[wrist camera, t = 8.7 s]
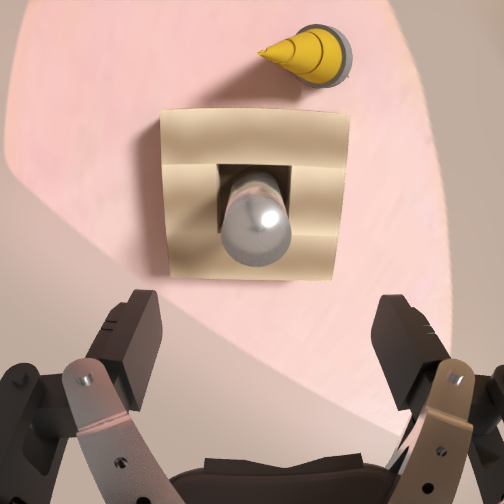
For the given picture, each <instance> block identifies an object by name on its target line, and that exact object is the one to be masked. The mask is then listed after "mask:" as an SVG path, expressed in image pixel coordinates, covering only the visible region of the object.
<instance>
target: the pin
mask: <svg viewBox="0 0 504 504" xmlns="http://www.w3.org/2000/svg"><path fill="white" fill-rule="evenodd" d="M291 237H292V232H291V226H290V223H289V219H288V216H287V213H286V209H285V206H284V203H283V199H282V196H281V193H280V189H279V186H278V183H277V180H276V178H275V177H274V176H273V174H272V173H270V172H269V171H268V170H266V169H263V168H260V167H251V168H247V169H245V170H243V171H241V172H240V173H239V174H238V175H237V176H236V177H235V179H234V181H233V183H232V188H231V192H230V196H229V200H228V204H227V208H226V213H225V217H224V221H223V225H222V230H221V239H222V244H223V246H224V248H225V250H226V252H227V253H228V255H229V256H230V257H231V258H233V259H234V260H235V261H237V262H238V263H240V264H243V265H246V266H250V267H262V266H267V265H270V264H272V263H274V262H276V261H277V260H279V259H280V258H281V257H282V256H283V255H284V254H285V253H286V251H287V250H288V248H289V246H290V243H291Z"/></svg>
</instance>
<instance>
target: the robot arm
mask: <svg viewBox="0 0 504 504" xmlns="http://www.w3.org/2000/svg"><path fill="white" fill-rule="evenodd" d="M161 340H162V321H161V315H160V310H159V303H158V296H157V293H156V291H155V290H134V291H133V293H132V295H131V296H130V298H129V300H128V302H127V303H122V302H121V303H119V304H118V305H117V306H116V307H114V308H113V309H112V310H111V311H110V313H109V314H108V316H107V318H106V320H105V322H104V324H103V325H102V327H101V330H99V332H98V334H97V336H96V338H95V340H94V341H93V343H92V345H91V347H90V349H89V351H88V353H87V355H86V357H85V358H82V359H78V360H76V361H74V362H72V363H70V364H69V365H68V366H67V367H66V368H65V370H64V371H63V373H62V374H52V375H40V374H39V372H38V370H37V369H36V367H35V366H33V365H32V364H29V363H19V364H16V365H14V366H12V367H11V368H9V369H8V370H7V371H6V372H5V374H4V375H3V377H2V379H1V380H0V504H50V500H51V497H52V492H53V489H54V485H55V482H56V478H57V474H58V471H59V467H60V464H61V461H62V457H63V454H64V451H65V447H66V444H67V441H68V438H70V437H77V438H78V441H79V444H80V446H81V449H82V452H83V454H84V457H85V459H86V461H87V464H88V466H89V468H90V471H91V473H92V475H93V477H94V480H95V482H96V484H97V486H98V488H99V490H100V492H101V494H102V497H103V499H104V501H105V503H106V504H452V503H453V500H454V497H455V494H456V491H457V488H458V485H459V482H460V478H461V475H462V472H463V468H464V464H465V461H466V457H467V454H468V456H469V459H470V462H471V465H472V468H473V471H474V474H475V477H476V480H477V484H478V487H479V490H480V493H481V497H482V500H483V504H504V442H503V439H502V437H501V435H500V432H499V430H498V428H497V424H498V423H499V422H500V421H501V419H502V420H503V422H504V365H500V366H498V367H497V368H496V369H495V371H494V372H493V374H492V376H484V375H475V374H474V372H473V370H472V369H471V367H469V366H468V365H467V364H466V363H464V362H463V361H460V360H457V359H451V357H450V356H449V354H448V352H447V351H446V349H445V347H444V346H443V344H442V343H441V341H440V339H439V338H438V336H437V335H436V334H435V331H434V330H433V328H432V327H431V326H430V324H429V322H428V321H427V319H426V317H425V316H424V315H423V314H422V313H421V312H419V311H418V310H417V309H416V308H414V307H411V306H410V305H409V303H408V302H407V300H406V299H405V297H404V296H403V295H401V294H399V295H382V296H381V298H380V301H379V304H378V308H377V312H376V315H375V319H374V322H373V325H372V329H371V341H372V345H373V348H374V350H375V352H376V355H377V357H378V360H379V362H380V365H381V367H382V370H383V372H384V375H385V377H386V380H387V382H388V385H389V388H390V390H391V393H392V396H393V398H394V401H395V404H396V406H397V409H398V411H401V410H407V409H410V410H411V413H412V414H411V416H410V417H409V419H408V421H407V424H406V426H405V428H404V431H403V433H402V435H401V438H400V440H399V442H398V444H397V446H396V448H395V451H394V453H393V455H392V457H391V459H390V460H389V462H388V464H387V465H386V467H385V468H384V467H381V466H377V465H373V464H368V463H363V460H362V456H361V453H358V454H350V455H341V456H332V457H324V458H321V459H318V460H314V461H311V462H307V463H304V464H301V465H297V466H293V467H289V468H280V467H275V466H270V465H264V464H260V463H256V462H251V461H247V460H231V459H211V458H205V462H204V468H198V469H194V470H190V471H186V472H183V473H181V474H178V475H176V476H174V477H172V478H171V479H169V480H168V478H167V477H166V475H165V474H164V472H163V470H162V469H161V467H160V466H159V464H158V463H157V461H156V460H155V458H154V456H153V455H152V453H151V451H150V450H149V448H148V446H147V445H146V443H145V442H144V440H143V438H142V436H141V434H140V433H139V431H138V429H137V428H136V426H135V424H134V422H133V420H132V418H131V417H130V415H129V413H128V412H129V410H133V411H140V409H141V406H142V403H143V399H144V396H145V392H146V389H147V386H148V382H149V379H150V376H151V373H152V369H153V366H154V363H155V359H156V357H157V353H158V350H159V347H160V344H161Z"/></svg>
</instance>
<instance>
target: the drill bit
mask: <svg viewBox="0 0 504 504" xmlns="http://www.w3.org/2000/svg"><path fill="white" fill-rule="evenodd" d="M258 55H260V56H262V57H264V58H266V59H268V60H270V61H272V62H274V63H276V64H278V65H279V66H281V67H283V68H285V69H287V70H289V71H291V72H292V73H294V74H295V75H296V76H297V78H298V79H299V80H300V81H301V82H303V83H304V84H306V85H308V86H310V87H313V88H330V87H334V86H336V85H338V84H340V83H341V82H342V81H344V79H345V78H346V77H349V76H348V74H349V72H350V70H351V66H352V59H353V56H352V50H351V46H350V44H349V42H348V40H347V39H346V37H345V36H344V35H343V34H342V33H341V32H340V31H339V30H337V29H335V28H333V27H330V26H326V25H320V24H313V25H309V26H306V27H304V28H302V29H301V30H300V31H299V32H298V33H297V34H296V35H295V36H293V37H290V38H288V39H286V40H283V41H281V42H279V43H277V44H275V45H272V46H270V47H268V48H266V51H264V50H262V51H260V52H258Z"/></svg>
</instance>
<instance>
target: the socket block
mask: <svg viewBox="0 0 504 504" xmlns="http://www.w3.org/2000/svg"><path fill="white" fill-rule="evenodd" d="M349 128H350V115H347V114H340V113H331V112H320V111H308V110H293V109H274V108H187V109H170V110H160V137H161V164H162V183H163V199H164V213H165V226H166V237H167V248H168V258H169V268H170V277H171V278H199V279H237V280H299V281H332V276H333V270H334V263H335V257H336V250H337V243H338V235H339V228H340V220H341V212H342V203H343V195H344V185H345V175H346V165H347V154H348V142H349ZM251 167H260V168H263V169H266V170H268V171H269V172H270V173H272V174H273V176H274V177H275V178H276V180H277V183H278V186H279V189H280V193H281V196H282V199H283V203H284V206H285V209H286V213H287V216H288V219H289V223H290V226H291V232H292V237H291V243H290V246H289V248H288V250H287V251H286V253H285V254H284V255H283V256H282V257H281V258H280V259H279V260H277V261H276V262H274V263H272V264H270V265H267V266H262V267H250V266H246V265H243V264H240V263H238V262H237V261H235V260H234V259H233V258H231V257H230V256H229V255H228V253H227V252H226V250H225V248H224V246H223V244H222V239H221V230H222V225H223V221H224V217H225V213H226V208H227V204H228V200H229V196H230V192H231V188H232V183H233V181H234V179H235V177H236V176H237V175H238V174H239V173H240V172H241V171H243V170H245V169H247V168H251Z"/></svg>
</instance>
